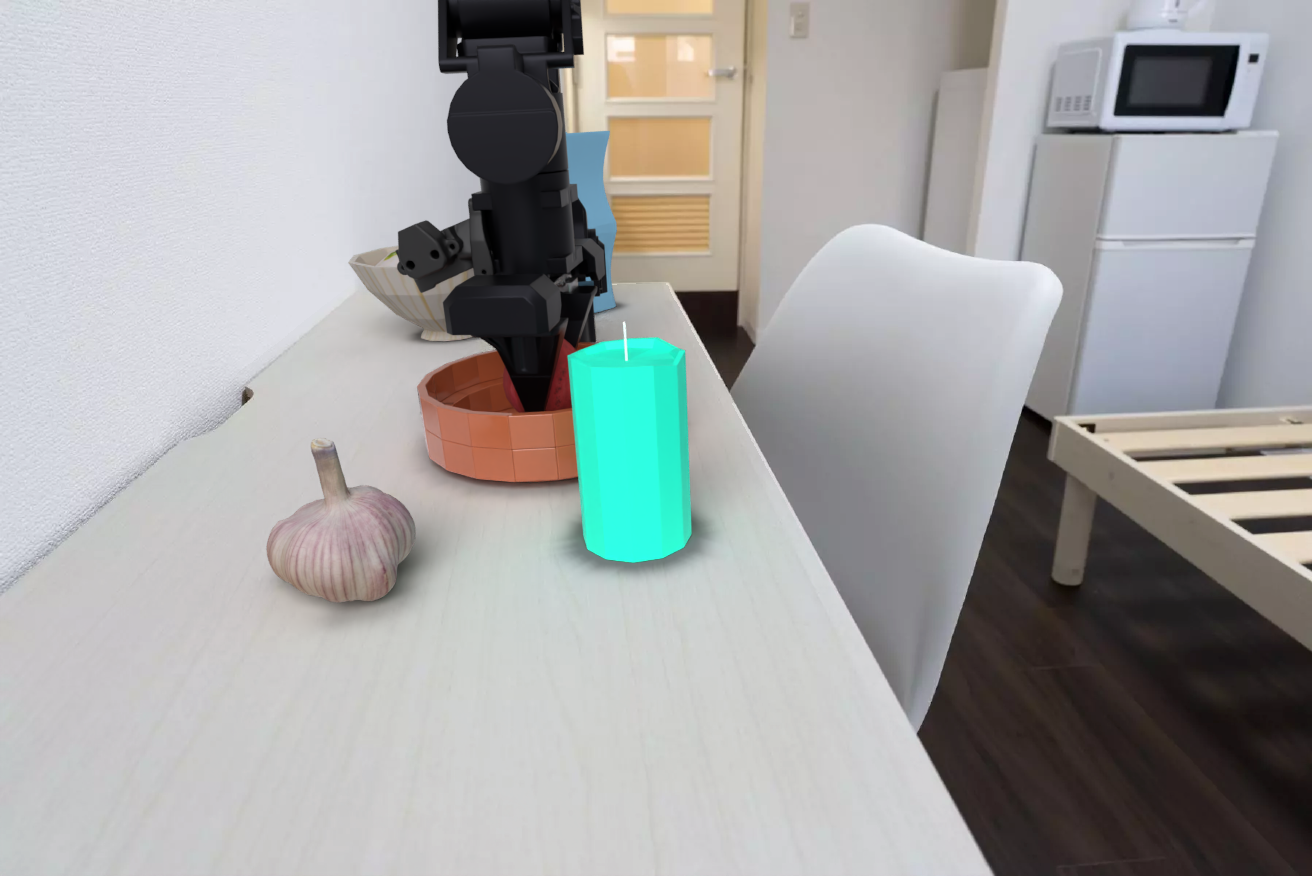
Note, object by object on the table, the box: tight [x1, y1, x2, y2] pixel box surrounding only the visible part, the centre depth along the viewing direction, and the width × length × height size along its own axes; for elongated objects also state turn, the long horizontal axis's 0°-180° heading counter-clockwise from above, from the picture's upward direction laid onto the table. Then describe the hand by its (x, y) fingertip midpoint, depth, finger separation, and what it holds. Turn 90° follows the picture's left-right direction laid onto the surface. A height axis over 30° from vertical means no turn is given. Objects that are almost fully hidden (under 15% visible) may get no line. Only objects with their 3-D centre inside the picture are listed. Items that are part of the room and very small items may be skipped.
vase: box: [566, 130, 618, 314], centre depth 97 cm, size 8×8×20 cm
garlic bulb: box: [266, 437, 417, 603], centre depth 41 cm, size 8×7×8 cm
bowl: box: [347, 245, 474, 342], centre depth 90 cm, size 19×19×10 cm
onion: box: [503, 339, 577, 413], centre depth 58 cm, size 6×6×8 cm
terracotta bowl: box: [416, 341, 598, 483], centre depth 59 cm, size 17×17×5 cm
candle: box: [567, 321, 693, 563], centre depth 44 cm, size 6×6×12 cm
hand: (546, 401), depth 59 cm, fingers closed on onion, 6 cm apart
